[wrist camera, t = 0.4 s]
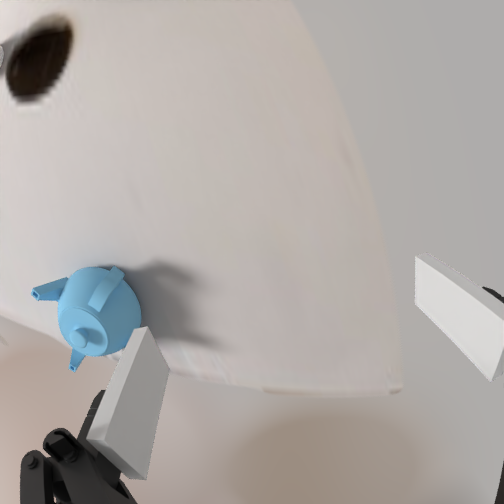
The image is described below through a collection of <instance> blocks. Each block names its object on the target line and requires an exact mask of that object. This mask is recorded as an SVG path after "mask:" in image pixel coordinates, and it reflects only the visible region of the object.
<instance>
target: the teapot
mask: <svg viewBox="0 0 504 504" xmlns="http://www.w3.org/2000/svg"><path fill="white" fill-rule="evenodd" d="M124 275H125V273H123V272H122V271H121V270H119V269H118V268H117V267H115V266H113V267H112V269H111V270H110V271H108V270H106V269H103V268H98V267H87V268H83V269H80V270H78V271H76V272H75V273H74V274H73V275H72V276H71V277H70V278H67V277H66V278H62V279H59V280H56V281H53V282H50V283H47V284H44V285H41V286H38V287H35V288H33V289H32V292H31V295H32V296H33V297H34V298H35V299H36V300H37V301H39V300H52V301H57V302H58V322H59V327H60V331H61V333H62V335H63V337H64V338H65V340H66V341H67V342H68V344H69V345H70V346H72V347H73V349H72V355H71V360H70V364H69V369H70V370H72V371H73V372H75V371H76V370H77V368H78V366H79V365H80V363H81V362H82V360H83V359H84V357H85V356H86V355H87V356H104V355H108V354H112V353H115V352H117V351H119V350H121V349H122V348H124V347H126V345H127V343H128V341H129V339H130V337H131V335H132V333H133V330H134V329H137V328H140V325H141V309H140V305H139V302H138V299H137V297H136V295H135V293H134V292H133V290H132V289H131V288H130V286H129V285H128V284H127V283H126V282H125V281H124V280H123V277H124Z"/></svg>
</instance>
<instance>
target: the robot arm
mask: <svg viewBox="0 0 504 504" xmlns="http://www.w3.org/2000/svg"><path fill="white" fill-rule="evenodd" d="M415 262H416V264H415V270H416V271H415V272H416V277H415V304H416V305H417V306H418V307H419V308H420V309H421V310H422V311H423V312H424V313H425V314H426V315H427V316H428V317H429V318H430V319H431V320H432V321H433V322H434V323H435V324H436V325H437V326H438V327H439V328H440V329H441V330H442V331H443V332H444V333H445V334H446V335H447V336H448V337H449V338H450V339H451V340H452V341H453V342H454V343H455V344H456V345H457V346H458V347H459V349H460V350H461V351H462V352H463V353H464V354H465V355H466V356H467V357H468V358H469V359H470V360H471V361H472V362H473V363H474V365H475V366H476V367H477V368H478V369H479V370H480V371H481V372H482V373H483V375H485V377H486V378H487V379H488V380H489V381H490V382H492V381H494V380H495V379H496V378H498V377H499V376H500V375H502V374H503V372H504V297H501V295H500V294H498V293H497V292H495V291H494V290H492V289H489V288H486V287H482V288H481V287H480V286H479V285H477V284H476V283H474V282H473V281H471V280H470V279H468V278H467V277H465V276H464V275H462V274H461V273H459V272H458V271H456V270H455V269H453V268H452V267H450V266H449V265H447V264H445V263H444V262H442V261H441V260H439V259H438V258H436V257H434V256H433V255H431V254H430V253H428V252H426V253H423V254H420V255H417V256H415ZM169 371H170V368H169V366H168V364H167V363H166V361H165V359H164V357H163V355H162V353H161V351H160V349H159V347H158V346H157V344H156V342H155V340H154V338H153V336H152V334H151V332H150V330H149V328H148V326H147V327H142V328H137V329H134V330H133V333H132V335H131V337H130V339H129V341H128V343H127V345H126V347H125V349H124V351H123V353H122V356H121V358H120V360H119V362H118V364H117V367H116V369H115V371H114V373H113V375H112V378H111V380H110V382H109V384H108V387H107V389H106V390H101V391H100V392H99V394H98V395H97V396H96V397H95V398H94V400H93V402H92V405H91V407H90V410H89V411H88V414H87V417H86V418H85V421H84V423H83V425H82V428H81V430H80V433H79V435H78V438H77V439H76V438H75V437H74V436H73V435H72V434H71V433H70V432H69V431H68V430H66V429H64V428H58V429H55V430H53V431H51V432H50V433H49V434H48V435H47V436H46V438H45V439H44V442H43V449H44V450H45V451H46V452H47V453H48V454H49V455H50V456H51V457H47V458H46V457H45V456H44V455H43V454H42V453H41V452H40V451H37V450H32V451H30V452H28V453H27V454H26V455H25V456H24V457H23V459H22V462H21V474H20V504H137V503H136V501H135V499H134V498H133V497H132V495H131V493H130V492H129V490H128V489H127V487H126V486H125V484H124V483H123V482H122V481H121V480H120V479H119V478H120V474H121V472H122V473H123V474H124V475H125V476H127V477H128V478H129V479H139V480H146V479H147V474H148V469H149V463H150V458H151V453H152V448H153V443H154V438H155V433H156V428H157V424H158V419H159V414H160V410H161V405H162V401H163V396H164V392H165V388H166V383H167V379H168V375H169ZM54 497H56V503H55V502H54ZM495 504H504V463H503V468H502V474H501V479H500V483H499V488H498V492H497V496H496V500H495Z"/></svg>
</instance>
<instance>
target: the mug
mask: <svg viewBox="0 0 504 504" xmlns="http://www.w3.org/2000/svg"><path fill="white" fill-rule="evenodd" d="M3 57H4V51H3V48H2V47H1V46H0V68H1V65H2V62H3Z"/></svg>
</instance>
